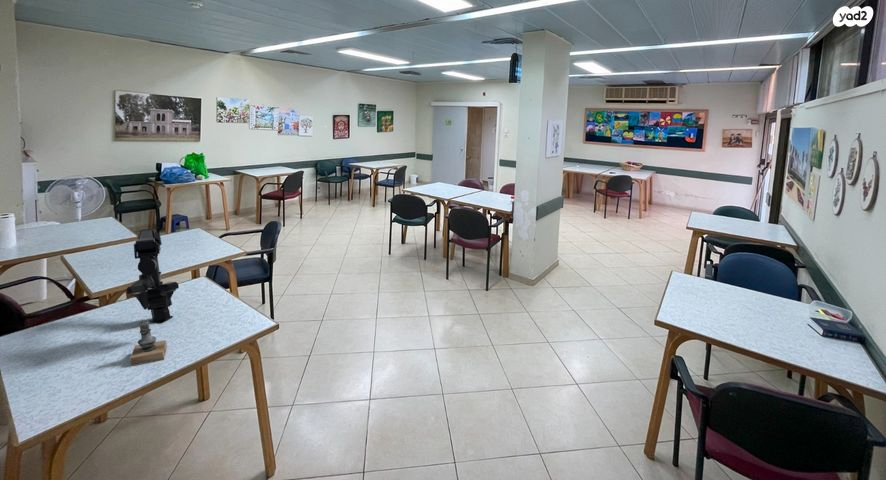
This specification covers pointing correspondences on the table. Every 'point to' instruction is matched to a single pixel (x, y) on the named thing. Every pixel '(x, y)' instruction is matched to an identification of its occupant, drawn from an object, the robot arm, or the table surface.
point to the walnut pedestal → (148, 354)
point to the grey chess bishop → (146, 338)
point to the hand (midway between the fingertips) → (156, 308)
